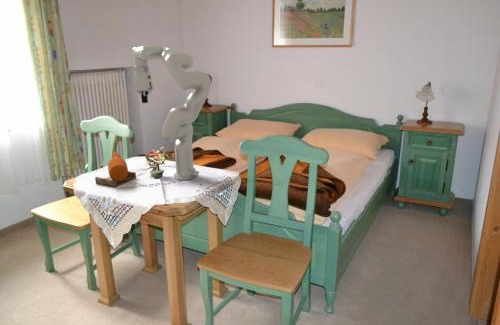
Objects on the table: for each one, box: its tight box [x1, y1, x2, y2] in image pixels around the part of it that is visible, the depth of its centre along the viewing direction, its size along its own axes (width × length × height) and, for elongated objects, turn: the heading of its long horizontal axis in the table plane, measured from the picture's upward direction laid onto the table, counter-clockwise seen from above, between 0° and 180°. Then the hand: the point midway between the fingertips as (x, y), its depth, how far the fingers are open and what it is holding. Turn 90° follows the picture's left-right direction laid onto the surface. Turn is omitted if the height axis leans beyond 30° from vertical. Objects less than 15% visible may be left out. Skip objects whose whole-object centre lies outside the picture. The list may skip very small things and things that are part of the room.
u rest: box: [94, 170, 137, 188], centre depth 210 cm, size 14×15×4 cm
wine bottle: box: [107, 151, 129, 181], centre depth 215 cm, size 10×10×30 cm
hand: (145, 102), depth 220 cm, fingers closed
